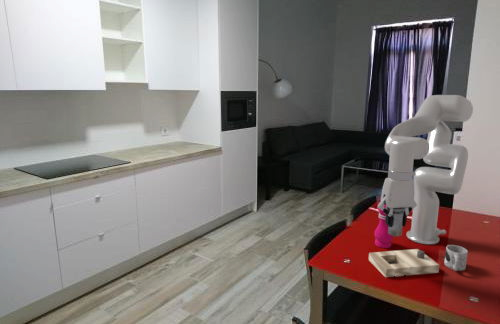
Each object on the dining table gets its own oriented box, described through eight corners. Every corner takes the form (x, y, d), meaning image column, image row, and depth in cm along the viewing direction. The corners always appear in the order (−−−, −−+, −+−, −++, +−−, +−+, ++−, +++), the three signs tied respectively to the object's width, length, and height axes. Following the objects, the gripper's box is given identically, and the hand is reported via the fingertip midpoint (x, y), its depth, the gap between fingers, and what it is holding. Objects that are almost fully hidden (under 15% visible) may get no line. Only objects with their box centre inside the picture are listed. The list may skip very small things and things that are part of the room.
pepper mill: (390, 250, 131) (394, 203, 127) (372, 246, 135) (375, 200, 131) (393, 243, 137) (397, 198, 133) (375, 239, 141) (378, 195, 137)
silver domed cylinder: (397, 230, 119) (399, 204, 117) (406, 236, 114) (408, 209, 112) (383, 231, 118) (385, 204, 116) (391, 237, 113) (394, 210, 111)
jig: (417, 256, 127) (418, 244, 126) (438, 272, 115) (440, 259, 114) (368, 260, 124) (369, 247, 123) (385, 277, 112) (386, 264, 111)
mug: (444, 259, 124) (446, 243, 122) (465, 264, 121) (467, 247, 119) (444, 272, 115) (446, 254, 114) (466, 277, 112) (469, 259, 111)
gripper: (415, 171, 116) (411, 220, 120) (371, 173, 114) (367, 222, 118) (429, 177, 109) (424, 228, 113) (382, 179, 107) (378, 231, 111)
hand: (395, 224), depth 115 cm, fingers closed on silver domed cylinder, 4 cm apart
